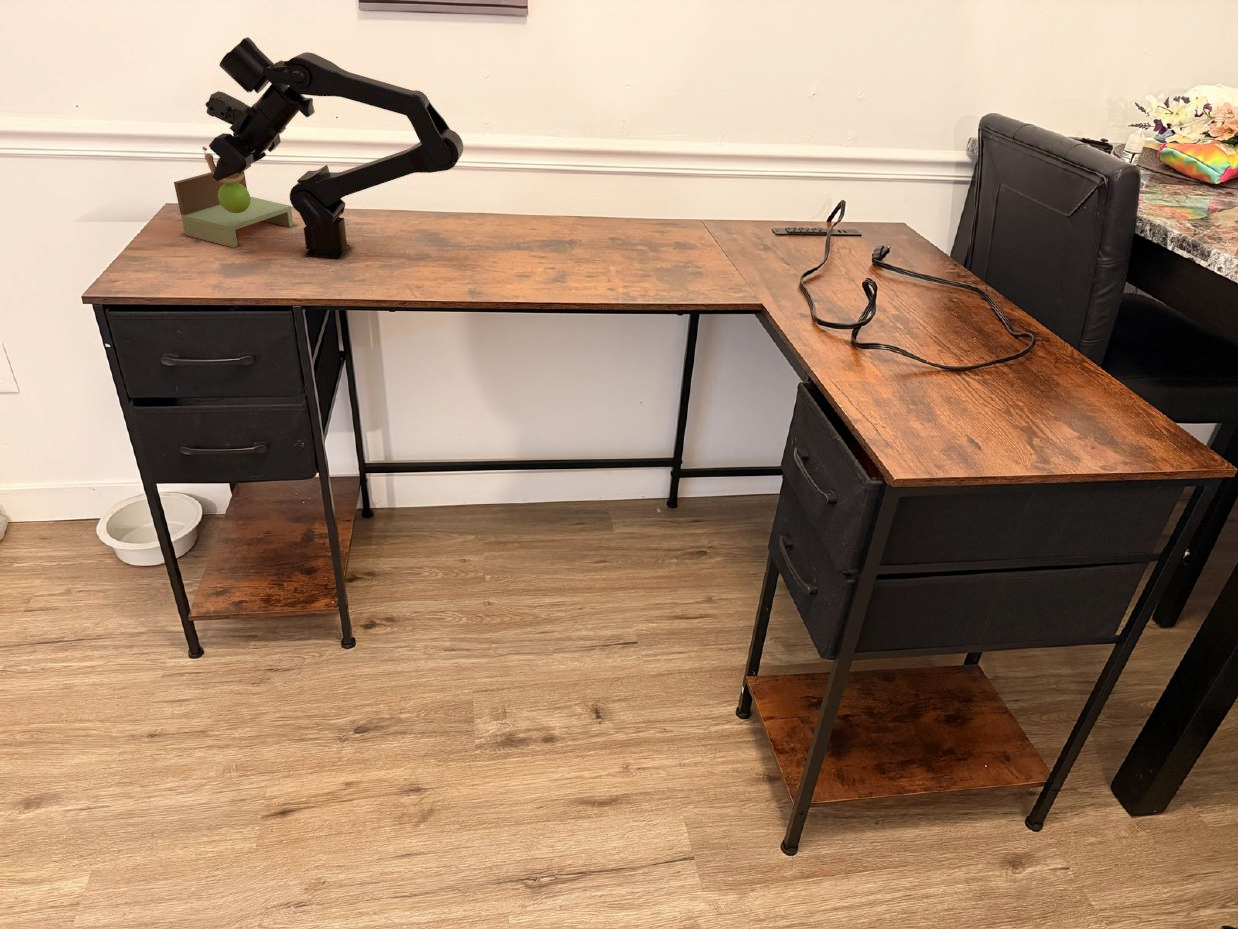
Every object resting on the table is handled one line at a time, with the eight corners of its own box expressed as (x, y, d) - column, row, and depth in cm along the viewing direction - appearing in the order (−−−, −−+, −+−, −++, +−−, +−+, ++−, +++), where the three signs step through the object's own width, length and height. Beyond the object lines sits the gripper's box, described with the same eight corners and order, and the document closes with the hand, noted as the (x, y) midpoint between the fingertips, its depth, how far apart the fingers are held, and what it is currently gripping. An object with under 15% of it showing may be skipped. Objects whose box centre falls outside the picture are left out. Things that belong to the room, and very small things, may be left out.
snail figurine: (210, 212, 156) (196, 143, 149) (245, 206, 159) (232, 139, 153) (223, 219, 152) (209, 150, 146) (258, 213, 156) (245, 145, 150)
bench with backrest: (293, 225, 171) (286, 174, 166) (233, 247, 159) (223, 193, 153) (247, 214, 175) (239, 164, 170) (185, 235, 163) (173, 181, 157)
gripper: (251, 67, 151) (201, 129, 157) (209, 85, 136) (156, 153, 141) (302, 116, 156) (252, 175, 161) (268, 140, 140) (214, 203, 146)
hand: (219, 175), depth 152 cm, fingers closed on snail figurine, 4 cm apart
